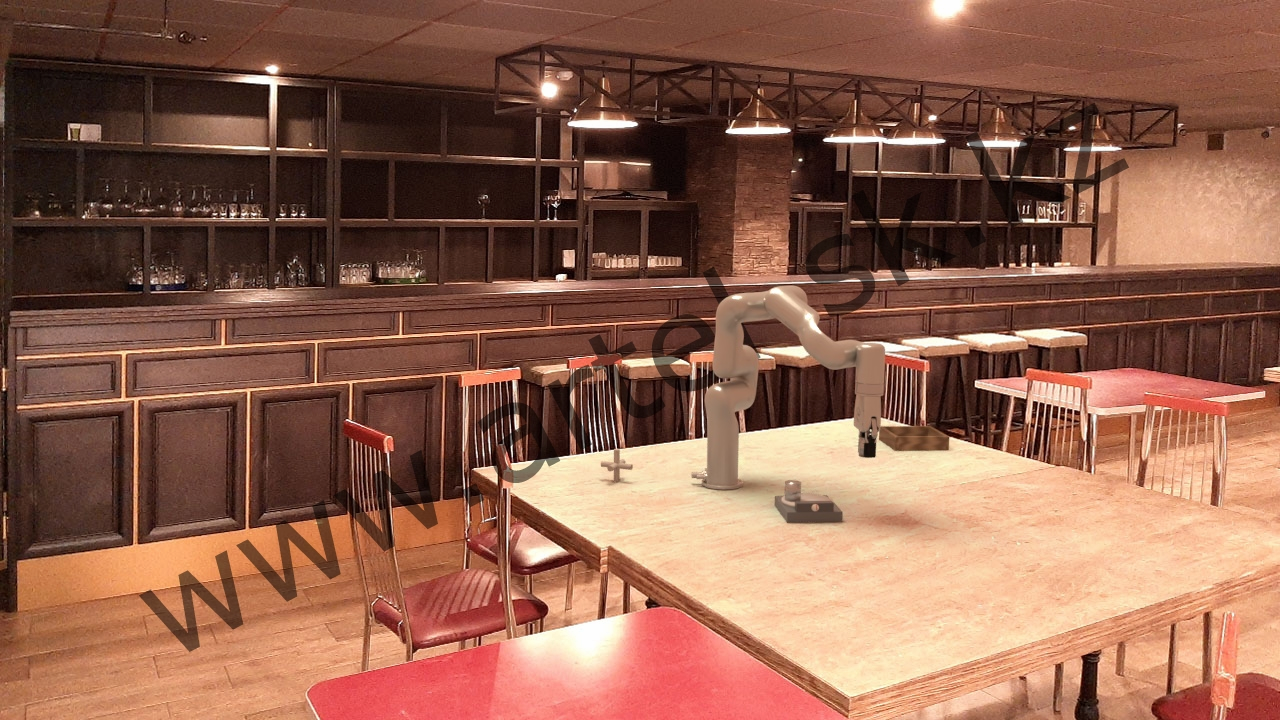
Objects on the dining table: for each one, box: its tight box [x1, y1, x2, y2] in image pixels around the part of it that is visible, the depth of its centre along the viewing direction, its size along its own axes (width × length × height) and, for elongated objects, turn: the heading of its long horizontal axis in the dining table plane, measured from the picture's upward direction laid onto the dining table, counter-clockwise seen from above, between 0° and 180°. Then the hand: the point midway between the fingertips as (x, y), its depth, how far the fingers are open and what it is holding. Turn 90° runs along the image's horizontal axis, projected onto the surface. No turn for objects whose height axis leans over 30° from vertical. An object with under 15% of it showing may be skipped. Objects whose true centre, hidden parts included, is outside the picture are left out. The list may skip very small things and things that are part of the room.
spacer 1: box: [784, 479, 802, 502], centre depth 284 cm, size 4×4×5 cm
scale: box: [774, 492, 844, 524], centre depth 283 cm, size 15×17×5 cm
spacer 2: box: [858, 436, 869, 459], centre depth 279 cm, size 4×4×5 cm
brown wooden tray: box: [878, 425, 950, 452], centre depth 373 cm, size 19×19×5 cm
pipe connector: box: [600, 448, 634, 483], centre depth 317 cm, size 10×10×10 cm
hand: (866, 454), depth 280 cm, fingers closed on spacer 2, 4 cm apart
